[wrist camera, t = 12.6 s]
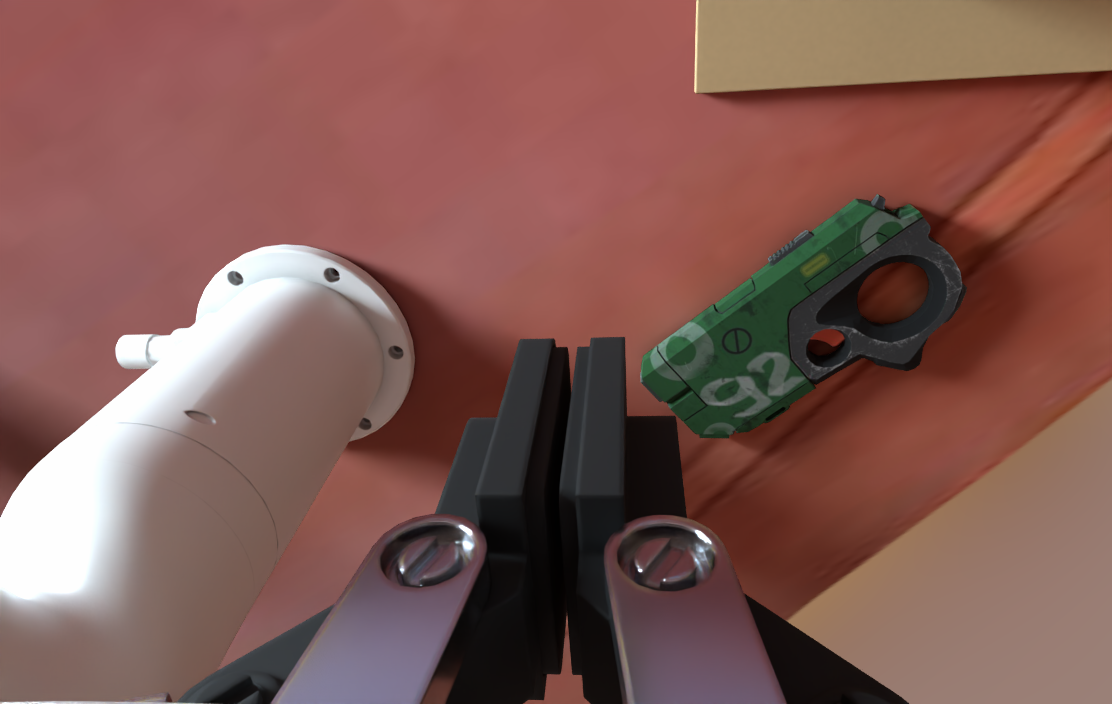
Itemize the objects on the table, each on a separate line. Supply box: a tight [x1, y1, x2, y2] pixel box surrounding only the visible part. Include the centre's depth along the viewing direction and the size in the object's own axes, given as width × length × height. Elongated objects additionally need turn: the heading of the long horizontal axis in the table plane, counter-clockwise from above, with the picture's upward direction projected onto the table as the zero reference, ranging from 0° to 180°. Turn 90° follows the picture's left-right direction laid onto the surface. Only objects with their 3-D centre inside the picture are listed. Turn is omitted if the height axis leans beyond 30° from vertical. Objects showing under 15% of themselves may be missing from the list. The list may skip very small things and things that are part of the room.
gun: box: [640, 194, 967, 438], centre depth 40 cm, size 16×1×10 cm
